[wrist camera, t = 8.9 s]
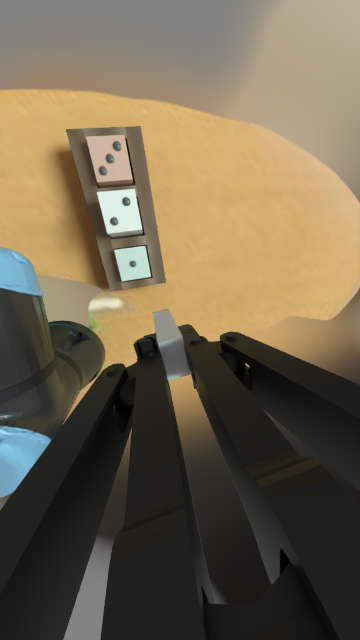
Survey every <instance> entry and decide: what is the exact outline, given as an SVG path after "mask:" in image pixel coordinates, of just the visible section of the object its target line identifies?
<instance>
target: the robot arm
mask: <svg viewBox="0 0 360 640" xmlns="http://www.w3.org/2000/svg"><path fill="white" fill-rule="evenodd" d="M42 296H44V294H43V292H42V291H41V290H40V286H39V283H38V280H37V277H36V273H35V270H34V267H33V265H32V263H31V262H30V261H29V260H28V259H27V258H26V257H25V256H23V255H22V254H20V253H18V252H16V251H13V250H10V249H7V248H3V247H0V498H1V497H3V496H6V495H8V494H10V493H12V492H13V494H12V495H11V496H10V498H9V499H8V500H7V502H6V503H5V505H4V506H3V507H2V509H1V510H0V640H63V638H64V635H65V632H66V629H67V626H68V623H69V620H70V617H71V614H72V611H73V608H74V604H75V601H76V598H77V595H78V592H79V589H80V586H81V583H82V580H83V577H84V573H85V570H86V567H87V564H88V561H89V558H90V555H91V552H92V549H93V545H94V543H95V539H96V536H97V533H98V530H99V527H100V524H101V521H102V518H103V515H104V511H105V508H106V505H107V502H108V499H109V496H110V493H111V490H112V487H113V484H114V481H115V477H116V474H117V471H118V468H119V465H120V462H121V459H122V455H123V453H124V449H125V447H126V443H127V440H128V437H129V434H130V431H131V428H132V435H131V447H130V461H129V473H128V486H127V499H126V511H125V520H124V524H123V528H122V529H121V530H120V532H119V533H118V534H117V535H116V538H115V541H114V544H113V547H112V553H111V559H110V565H109V573H108V581H107V589H106V598H105V606H104V615H103V623H102V631H101V640H360V506H359V505H358V504H357V502H355V500H354V499H353V498H352V497H351V496H350V495H349V493H348V492H347V491H346V490H345V489H344V488H343V487H342V485H341V484H340V483H339V482H338V481H337V480H336V479H335V478H334V476H333V475H332V474H330V472H329V471H328V470H327V469H326V468H325V467H324V466H323V465H322V464H320V463H319V462H317V461H316V460H314V459H313V458H307V457H303V456H301V455H300V454H299V453H298V452H297V451H296V450H295V449H294V448H293V446H292V445H291V444H290V442H289V441H288V440H287V439H286V438H285V436H284V435H283V434H282V433H281V431H280V430H279V429H278V428H277V427H276V425H275V424H274V423H273V421H272V420H271V419H270V418H269V416H268V415H267V414H266V413H265V411H266V412H267V413H268V414H270V415H271V416H272V417H273V418H274V419H275V420H277V421H278V422H279V423H280V424H281V425H283V426H284V427H285V428H286V429H288V430H289V431H290V432H291V433H292V434H293V435H295V436H296V437H297V438H298V439H299V440H301V441H302V442H303V443H304V444H305V445H307V446H308V447H309V448H310V449H311V450H313V451H314V452H315V453H316V454H317V455H318V456H320V457H321V458H322V459H323V460H324V461H326V462H327V463H328V464H329V465H330V466H332V467H333V468H334V469H335V470H336V471H338V472H339V473H340V474H341V475H342V476H344V477H345V478H346V479H347V480H348V481H350V482H351V483H352V484H353V485H354V486H355V487H357V488H358V489H359V490H360V385H359V384H357V383H354V382H352V381H350V380H347V379H345V378H343V377H341V376H338V375H336V374H334V373H331V372H329V371H326V370H324V369H322V368H319V367H317V366H315V365H313V364H310V363H308V362H306V361H303V360H301V359H299V358H296V357H294V356H291V355H289V354H287V353H285V352H283V351H280V350H278V349H276V348H273V347H271V346H268V345H266V344H264V343H262V342H259V341H257V340H254V339H252V338H250V337H247V336H245V335H243V334H241V333H237V332H227V333H224V334H222V335H221V336H220V341H216V342H208V340H207V339H206V338H205V337H203V336H199V335H198V333H197V332H196V331H195V329H194V328H193V327H192V326H191V325H189V324H187V325H183V326H179V327H178V326H177V325H176V323H175V321H174V319H173V317H172V315H171V313H170V311H169V309H165V310H161V311H157V312H153V317H154V323H155V330H156V333H154V334H150V335H146V336H144V337H143V338H141V339H139V340H137V341H136V342H135V343H134V348H135V351H136V354H137V357H138V358H137V362H136V363H135V364H133V365H131V366H129V367H127V368H126V367H125V365H124V364H121V363H120V364H113V365H111V366H108V367H107V368H106V369H104V370H103V371H102V372H101V373H100V375H99V376H98V378H97V379H96V380H95V382H94V383H93V384H92V386H91V387H90V389H89V390H88V391H87V393H86V394H85V395H84V397H83V398H82V400H81V401H80V402H79V403H78V405H77V406H76V408H75V409H74V410H73V412H72V413H71V414H70V416H69V417H68V419H67V420H66V421H65V419H66V417H67V415H68V414H69V412H70V410H71V408H72V406H73V404H74V402H75V400H76V398H77V396H78V394H79V392H80V391H81V390H82V389H83V388H84V387H86V386H87V385H88V384H89V383H90V382H91V381H93V380H94V379H95V378H96V376H97V375H98V374H99V372H100V370H101V368H102V366H103V363H104V360H105V350H104V346H103V344H102V342H101V340H100V339H99V337H98V336H97V335H96V334H95V333H94V332H93V331H92V330H90V329H89V328H87V327H85V326H83V325H81V324H79V323H75V322H71V321H53V322H49V323H48V320H47V316H46V312H45V307H44V303H43V298H42ZM245 363H247V364H248V365H249V367H250V368H249V367H247V366H246V364H245ZM190 371H191V373H190ZM189 374H191V375H192V380H193V384H194V389H197V392H198V394H199V397H200V399H201V402H202V404H203V407H204V409H205V412H206V414H207V417H208V419H209V422H210V424H211V427H212V429H213V432H214V434H215V437H216V439H217V442H218V444H219V446H220V449H221V452H222V454H223V456H224V459H225V462H226V464H227V466H228V469H229V471H230V474H231V476H232V479H233V481H234V484H235V486H236V489H237V491H238V494H239V496H240V499H241V501H242V504H243V506H244V509H245V511H246V513H247V516H248V519H249V521H250V523H251V526H252V529H253V531H254V534H255V537H256V540H257V544H258V547H259V550H260V554H261V557H262V560H263V562H264V565H265V568H266V571H267V573H268V576H269V579H270V581H271V584H272V586H271V587H270V588H269V590H268V591H267V592H266V593H265V595H264V596H263V597H262V598H261V600H260V601H259V602H258V603H257V604H255V605H252V606H242V605H241V606H240V605H226V604H215V603H214V598H213V593H212V589H211V584H210V580H209V576H208V571H207V567H206V563H205V559H204V554H203V549H202V545H201V540H200V535H199V530H198V525H197V520H196V515H195V510H194V505H193V500H192V495H191V490H190V485H189V480H188V475H187V470H186V465H185V460H184V455H183V450H182V445H181V440H180V436H179V431H178V426H177V421H176V416H175V411H174V406H173V401H172V396H171V391H170V387H169V382H168V381H169V380H172V379H176V378H179V377H183V376H186V375H189ZM263 409H264V410H265V411H264V410H263ZM64 421H65V423H64ZM63 423H64V424H63Z"/></svg>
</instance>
